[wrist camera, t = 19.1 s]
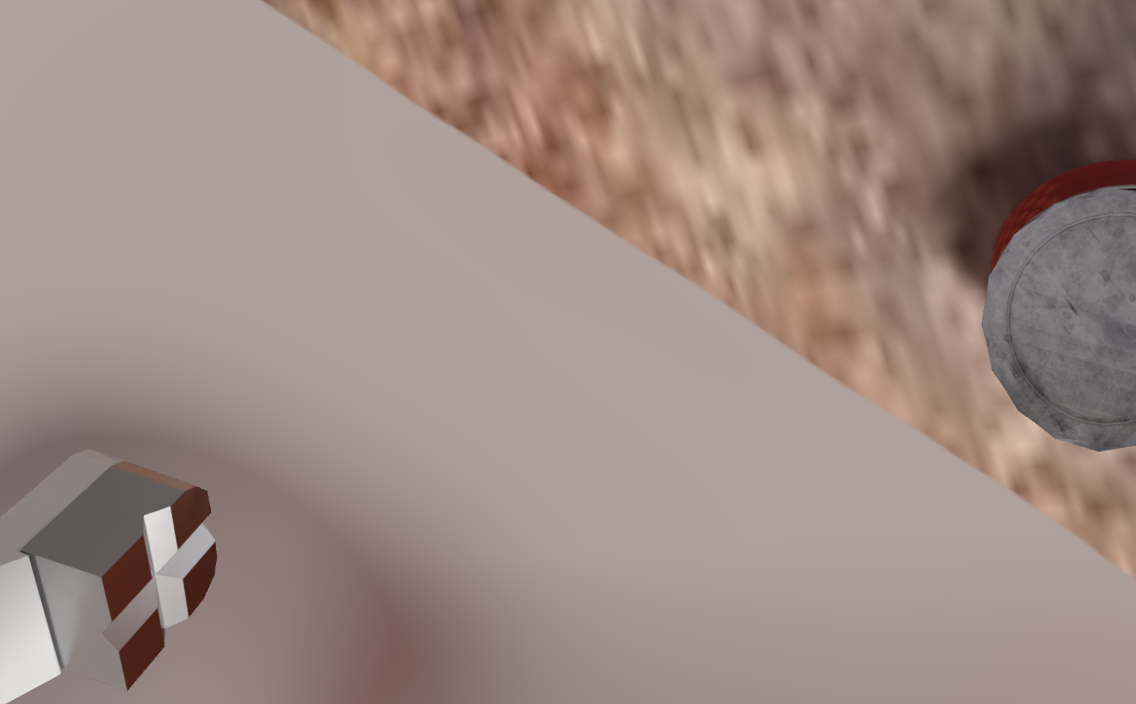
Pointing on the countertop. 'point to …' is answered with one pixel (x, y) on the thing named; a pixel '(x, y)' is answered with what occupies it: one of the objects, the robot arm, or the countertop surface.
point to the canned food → (1069, 306)
